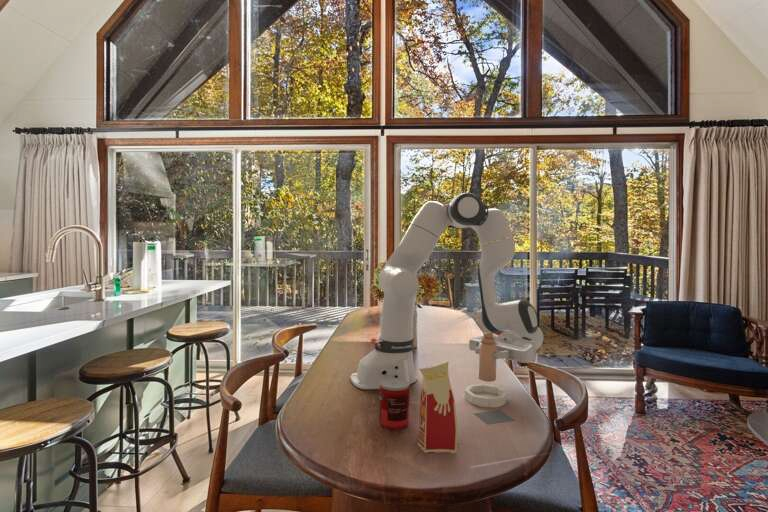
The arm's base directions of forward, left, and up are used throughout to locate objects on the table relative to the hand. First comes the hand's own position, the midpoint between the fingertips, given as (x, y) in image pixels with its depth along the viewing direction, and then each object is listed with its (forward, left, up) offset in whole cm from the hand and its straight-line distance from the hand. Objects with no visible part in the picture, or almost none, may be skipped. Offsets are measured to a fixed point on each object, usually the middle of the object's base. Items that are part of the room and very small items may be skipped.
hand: (486, 353), depth 129 cm
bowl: (+1, 0, -14) cm, 15 cm away
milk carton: (-25, -20, -15) cm, 35 cm away
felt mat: (-4, -11, -14) cm, 19 cm away
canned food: (-31, -7, -15) cm, 35 cm away
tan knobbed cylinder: (+1, 0, -8) cm, 8 cm away
